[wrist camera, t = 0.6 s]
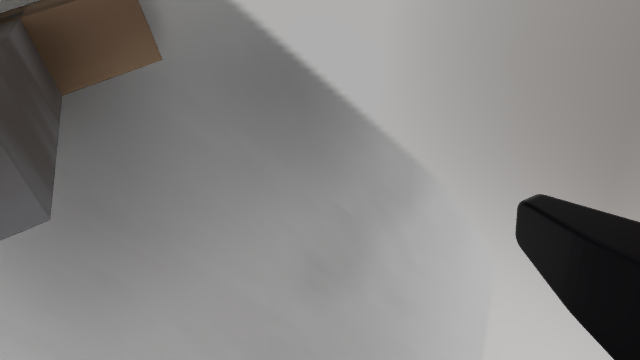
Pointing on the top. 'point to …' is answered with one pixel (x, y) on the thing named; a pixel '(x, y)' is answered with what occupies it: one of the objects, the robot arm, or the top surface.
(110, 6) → the wooden display stand
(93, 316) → the top surface
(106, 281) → the top surface
